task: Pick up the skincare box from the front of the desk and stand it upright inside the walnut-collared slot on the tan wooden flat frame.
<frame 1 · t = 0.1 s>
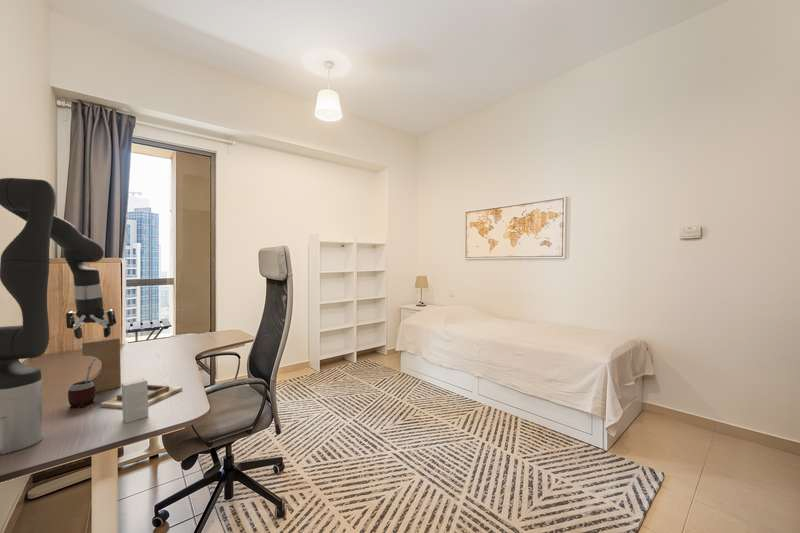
hand: (93, 337, 126), 22 cm above the table, tool pointing down, fingers open, 8 cm apart
mate gourd: (83, 405, 118), on the table
skincare box: (135, 418, 107), on the table
decorative block: (102, 389, 132), on the table
tan wooden flat frame: (144, 397, 123), on the table
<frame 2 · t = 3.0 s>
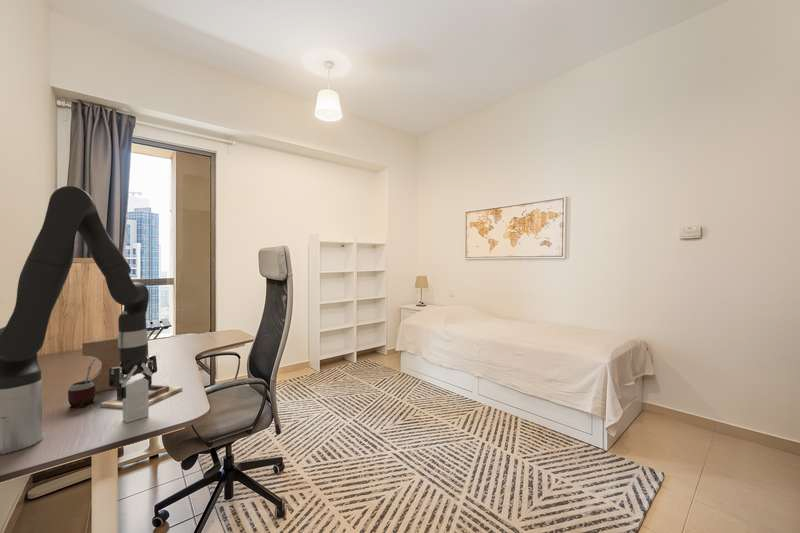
hand: (135, 392, 108), 8 cm above the table, tool pointing down, fingers open, 8 cm apart
nothing on the table moved.
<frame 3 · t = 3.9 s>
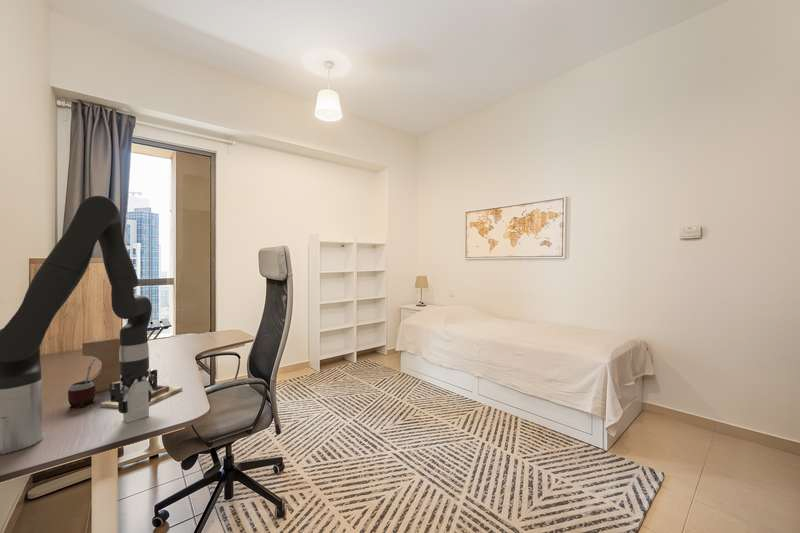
hand: (135, 407, 107), 3 cm above the table, tool pointing down, fingers closed on skincare box, 7 cm apart
skincare box: (135, 418, 107), on the table, touching gripper
everything else where it was.
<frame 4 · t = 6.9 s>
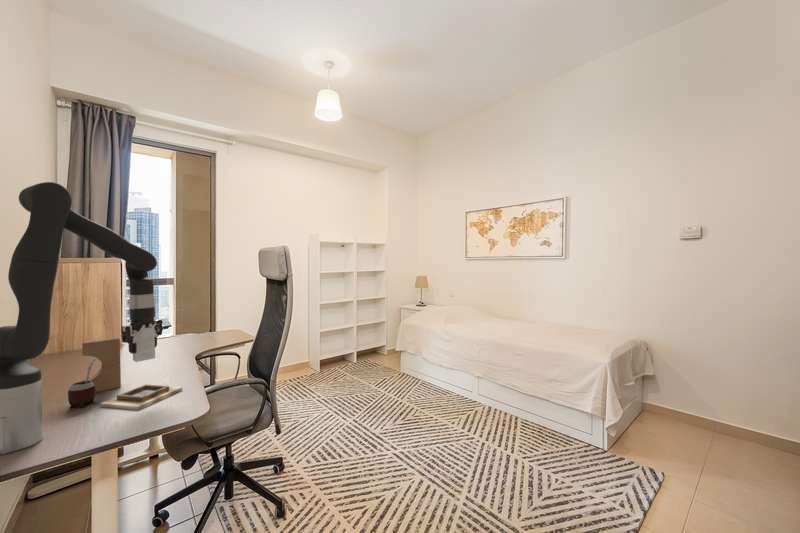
hand: (143, 350, 123), 18 cm above the table, tool pointing down, fingers closed on skincare box, 7 cm apart
skincare box: (143, 360, 123), point 14 cm above the table, touching gripper
everything else where it was.
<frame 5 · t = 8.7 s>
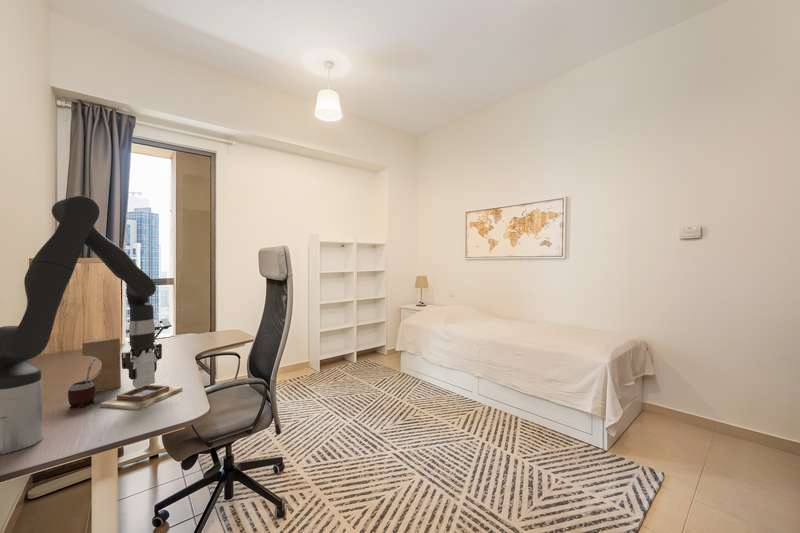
hand: (143, 375, 123), 8 cm above the table, tool pointing down, fingers closed on skincare box, 7 cm apart
skincare box: (143, 385, 123), point 5 cm above the table, touching gripper
everything else where it was.
when the fingers open (7 cm above the table, at t = 10.0 s): skincare box drops 2 cm, resting on tan wooden flat frame.
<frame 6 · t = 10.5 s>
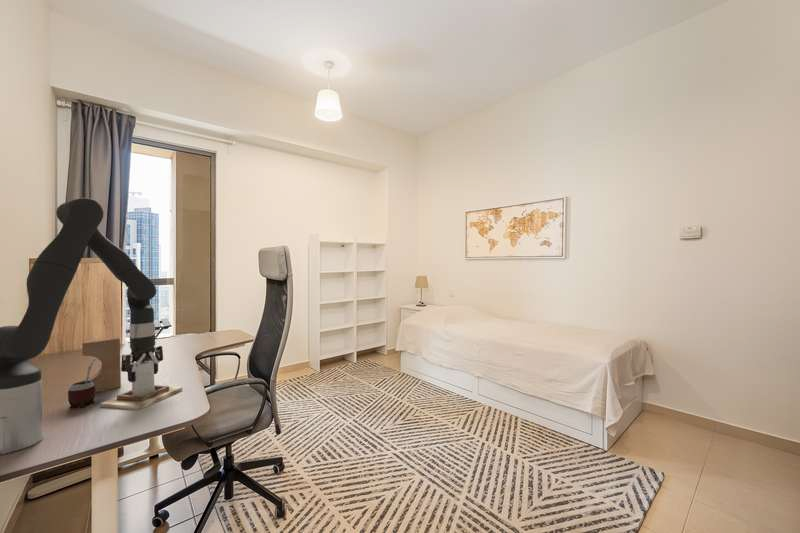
hand: (143, 377, 123), 8 cm above the table, tool pointing down, fingers open, 8 cm apart
skincare box: (143, 395, 123), point 1 cm above the table, touching tan wooden flat frame
everything else where it was.
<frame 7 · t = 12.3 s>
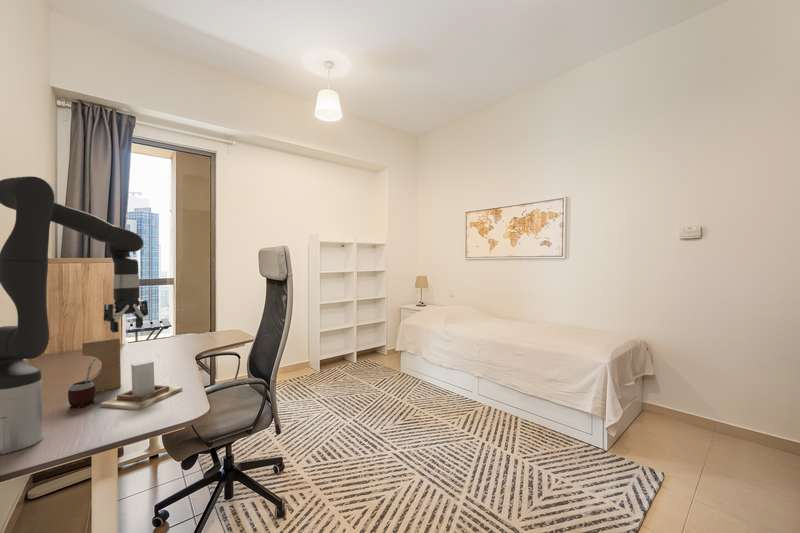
hand: (127, 329, 123), 26 cm above the table, tool pointing down, fingers open, 8 cm apart
nothing on the table moved.
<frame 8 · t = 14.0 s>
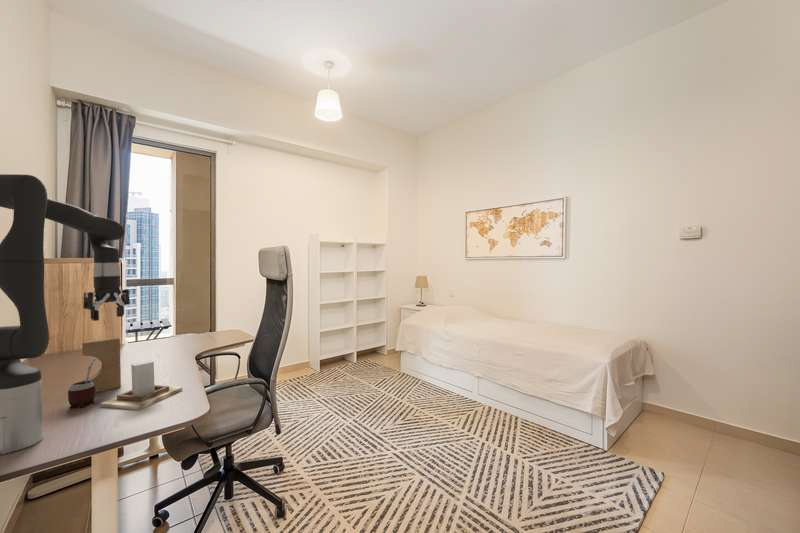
hand: (108, 318, 122), 30 cm above the table, tool pointing down, fingers open, 8 cm apart
nothing on the table moved.
at the end: skincare box 0.3 cm off-centre on the tan wooden flat frame, point 1.1 cm above the tan wooden flat frame's base; skincare box tilted 0°; the gripper is holding nothing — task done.
